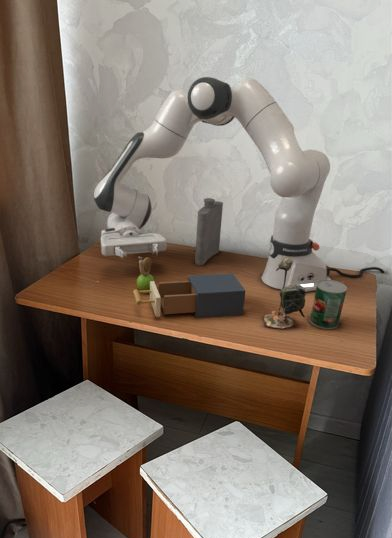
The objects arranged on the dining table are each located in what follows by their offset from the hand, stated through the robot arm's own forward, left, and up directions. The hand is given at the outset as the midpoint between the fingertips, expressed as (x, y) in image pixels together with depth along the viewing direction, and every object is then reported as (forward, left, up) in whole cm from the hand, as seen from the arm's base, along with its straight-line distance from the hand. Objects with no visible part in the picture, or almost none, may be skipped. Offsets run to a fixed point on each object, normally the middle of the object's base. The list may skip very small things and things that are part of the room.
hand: (140, 254), depth 146 cm
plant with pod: (-35, +30, -10) cm, 47 cm away
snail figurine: (-1, +6, -10) cm, 11 cm away
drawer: (-5, +18, -9) cm, 20 cm away
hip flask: (-26, -18, -10) cm, 33 cm away
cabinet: (-19, +18, -10) cm, 27 cm away
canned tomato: (-47, +31, -10) cm, 57 cm away
